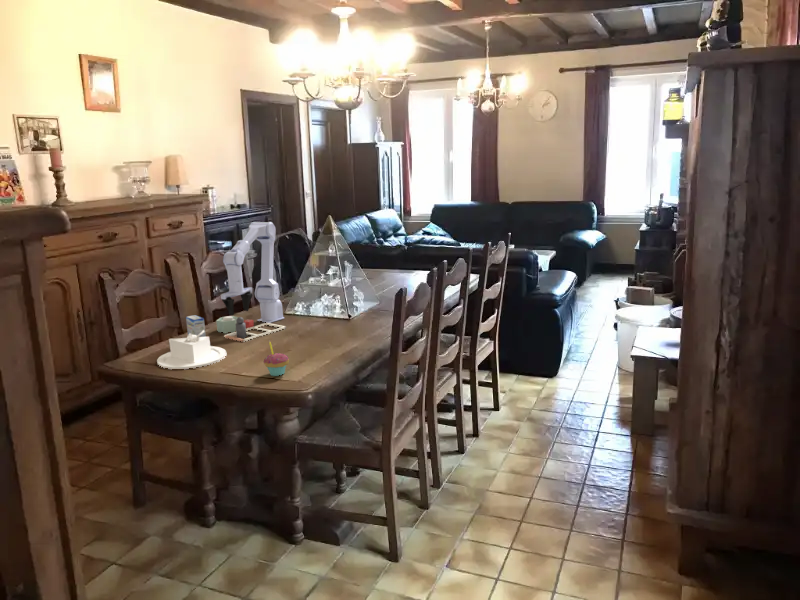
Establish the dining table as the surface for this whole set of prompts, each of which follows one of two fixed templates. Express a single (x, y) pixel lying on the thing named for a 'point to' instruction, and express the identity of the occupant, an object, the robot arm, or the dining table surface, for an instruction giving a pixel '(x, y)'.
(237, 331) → the pawn
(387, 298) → the dining table surface
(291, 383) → the dining table surface
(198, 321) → the medicine box
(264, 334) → the game track
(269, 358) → the cupcake
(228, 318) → the dome
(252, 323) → the red die
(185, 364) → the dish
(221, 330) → the dome base
